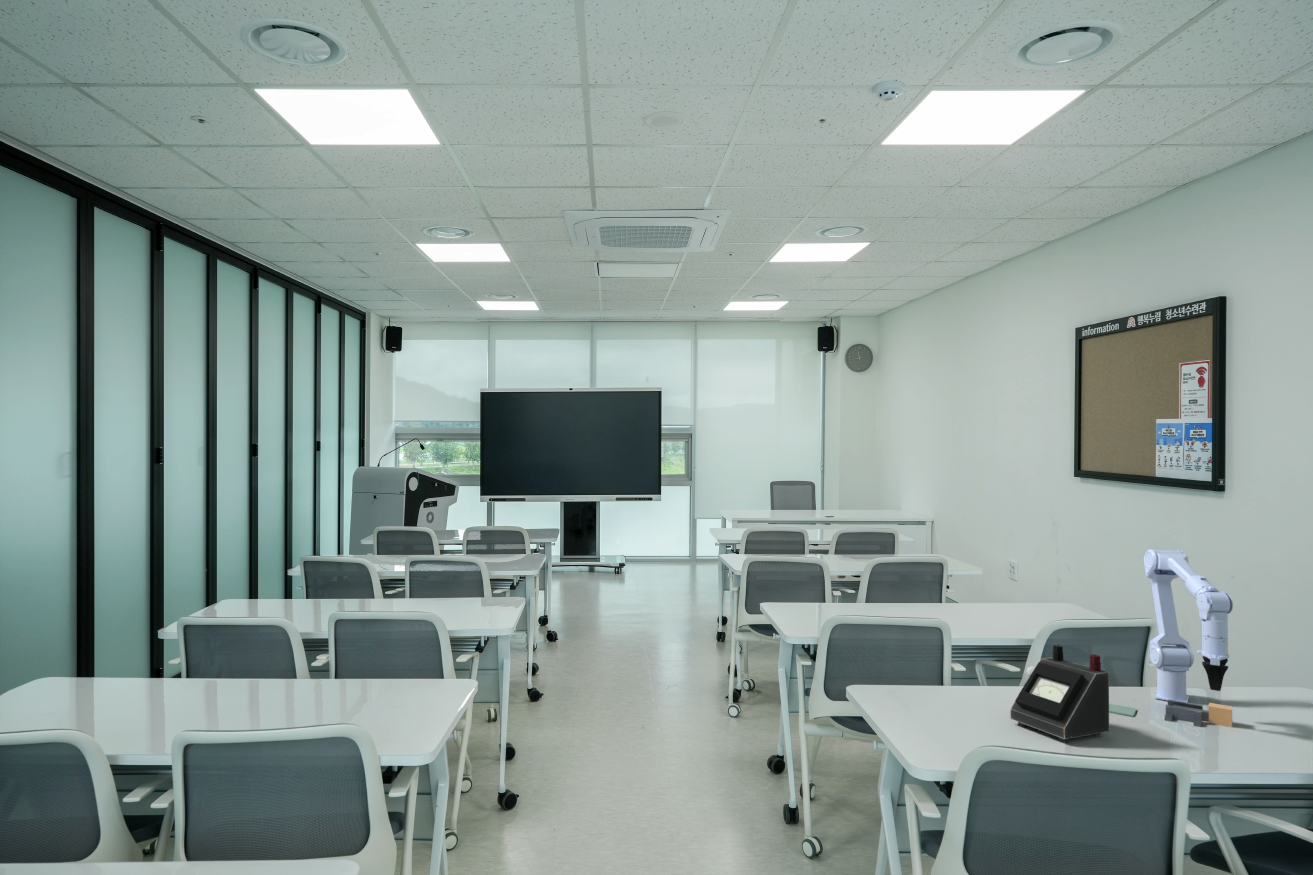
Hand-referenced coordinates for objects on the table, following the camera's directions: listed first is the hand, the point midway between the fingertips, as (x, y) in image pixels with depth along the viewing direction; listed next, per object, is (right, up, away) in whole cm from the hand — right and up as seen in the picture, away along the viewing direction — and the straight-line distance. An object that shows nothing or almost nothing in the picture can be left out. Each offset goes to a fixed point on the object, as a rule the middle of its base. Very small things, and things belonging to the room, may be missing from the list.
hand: (1215, 686), depth 205 cm
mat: (-21, -9, +8) cm, 25 cm away
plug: (-3, -9, +1) cm, 10 cm away
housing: (-6, -10, +4) cm, 12 cm away
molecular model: (-42, -9, +9) cm, 44 cm away
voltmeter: (-48, -8, -9) cm, 49 cm away
